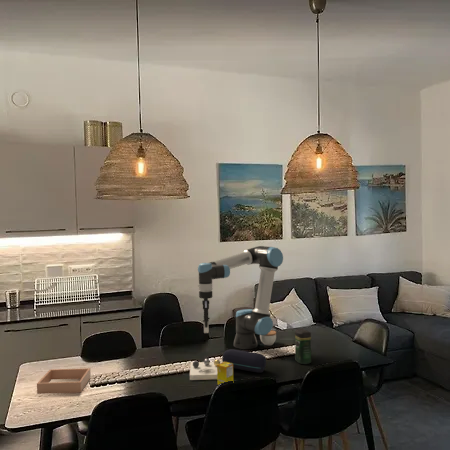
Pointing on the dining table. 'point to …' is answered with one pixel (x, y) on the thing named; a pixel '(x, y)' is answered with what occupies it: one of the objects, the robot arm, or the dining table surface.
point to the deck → (203, 371)
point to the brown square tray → (63, 387)
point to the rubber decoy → (195, 363)
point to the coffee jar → (303, 346)
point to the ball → (206, 361)
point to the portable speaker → (245, 360)
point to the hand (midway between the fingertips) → (206, 331)
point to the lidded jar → (268, 338)
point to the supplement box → (224, 372)
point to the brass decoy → (216, 362)
